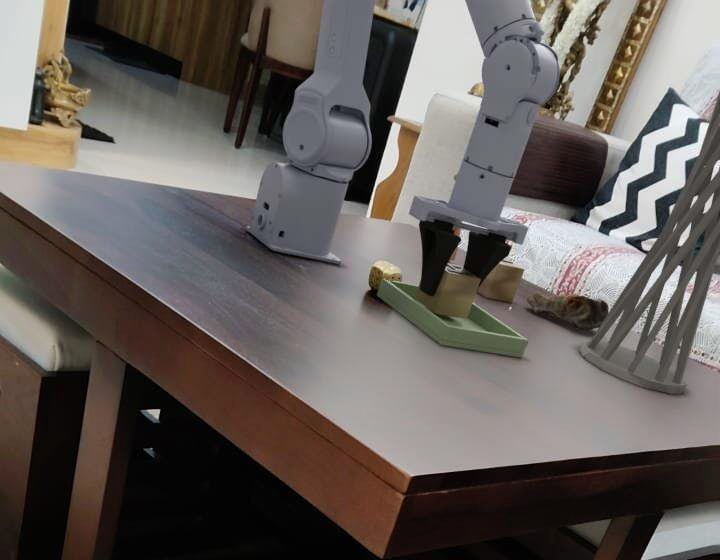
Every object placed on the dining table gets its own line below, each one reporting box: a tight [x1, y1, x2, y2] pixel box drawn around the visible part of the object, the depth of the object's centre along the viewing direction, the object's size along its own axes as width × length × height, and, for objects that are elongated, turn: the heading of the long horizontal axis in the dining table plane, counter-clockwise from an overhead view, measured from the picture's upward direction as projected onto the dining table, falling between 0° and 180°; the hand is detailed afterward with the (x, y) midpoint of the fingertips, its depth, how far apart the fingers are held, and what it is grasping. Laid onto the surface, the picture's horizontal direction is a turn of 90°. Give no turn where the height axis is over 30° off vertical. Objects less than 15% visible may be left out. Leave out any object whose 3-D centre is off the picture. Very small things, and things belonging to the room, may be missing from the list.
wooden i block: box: [476, 257, 526, 304], centre depth 131 cm, size 4×4×5 cm
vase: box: [578, 90, 720, 395], centre depth 112 cm, size 14×13×35 cm
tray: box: [376, 278, 530, 358], centre depth 110 cm, size 11×14×2 cm
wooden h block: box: [415, 262, 481, 319], centre depth 110 cm, size 4×4×5 cm
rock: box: [526, 292, 610, 331], centre depth 131 cm, size 9×6×10 cm
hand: (444, 296), depth 110 cm, fingers closed on wooden h block, 4 cm apart
